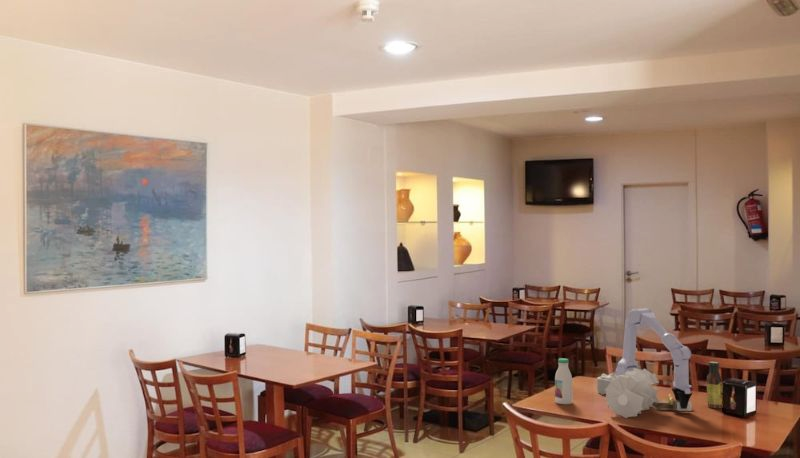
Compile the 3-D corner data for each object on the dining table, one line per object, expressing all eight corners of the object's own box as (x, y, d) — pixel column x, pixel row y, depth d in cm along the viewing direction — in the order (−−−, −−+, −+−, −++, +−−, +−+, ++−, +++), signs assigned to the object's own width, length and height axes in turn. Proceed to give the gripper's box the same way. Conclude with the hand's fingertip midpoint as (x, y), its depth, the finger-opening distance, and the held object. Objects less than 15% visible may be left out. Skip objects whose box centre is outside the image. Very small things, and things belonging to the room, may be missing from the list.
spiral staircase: (612, 427, 272) (632, 410, 292) (651, 415, 262) (669, 399, 281) (593, 385, 276) (614, 372, 296) (630, 372, 266) (649, 360, 286)
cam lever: (673, 405, 278) (673, 399, 278) (669, 404, 279) (669, 398, 279) (672, 400, 286) (672, 394, 286) (667, 400, 287) (667, 394, 287)
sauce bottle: (724, 409, 283) (724, 364, 283) (709, 408, 284) (708, 363, 284) (720, 405, 289) (719, 361, 289) (705, 405, 290) (704, 360, 290)
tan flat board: (655, 409, 283) (655, 403, 283) (651, 406, 289) (651, 399, 289) (692, 410, 282) (692, 403, 282) (686, 406, 288) (686, 399, 288)
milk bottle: (570, 400, 300) (570, 357, 300) (573, 405, 292) (573, 360, 292) (554, 400, 300) (553, 357, 301) (556, 404, 293) (555, 360, 293)
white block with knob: (677, 410, 275) (677, 401, 275) (673, 407, 280) (673, 398, 280) (691, 410, 275) (691, 401, 275) (687, 408, 279) (687, 398, 280)
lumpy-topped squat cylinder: (594, 392, 314) (594, 374, 314) (609, 388, 323) (608, 371, 323) (613, 396, 306) (613, 378, 307) (628, 392, 315) (628, 374, 315)
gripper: (697, 378, 270) (698, 411, 270) (684, 371, 285) (684, 402, 284) (680, 378, 271) (680, 411, 270) (668, 371, 285) (668, 402, 285)
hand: (681, 406), depth 277 cm, fingers closed on white block with knob, 4 cm apart
